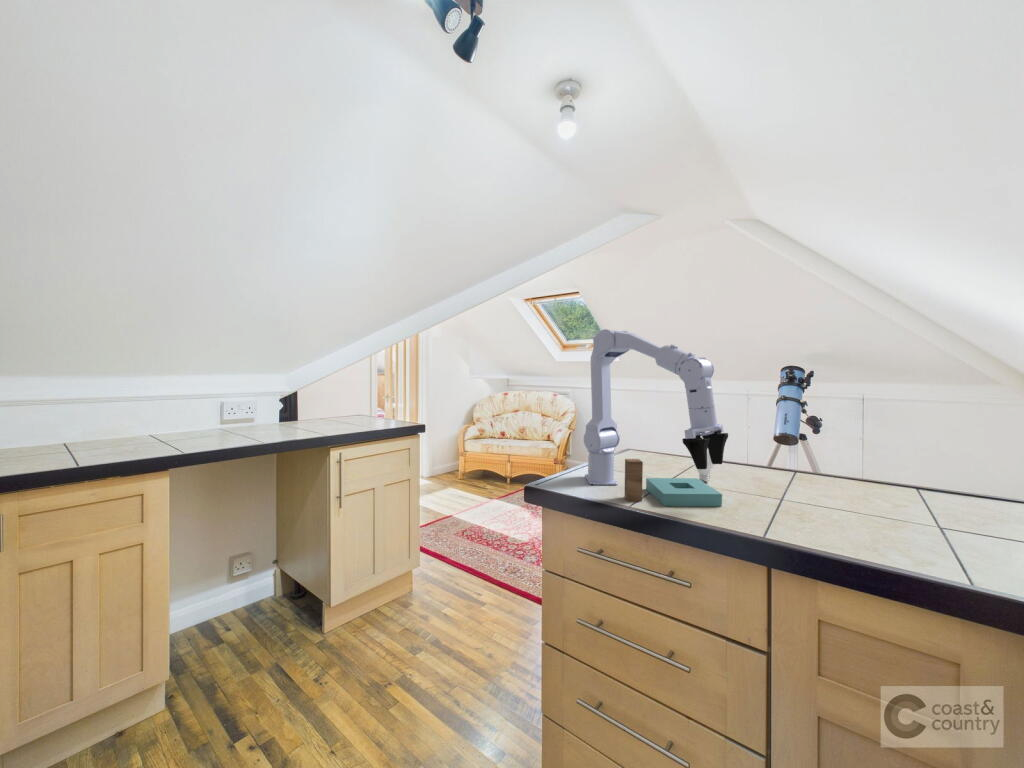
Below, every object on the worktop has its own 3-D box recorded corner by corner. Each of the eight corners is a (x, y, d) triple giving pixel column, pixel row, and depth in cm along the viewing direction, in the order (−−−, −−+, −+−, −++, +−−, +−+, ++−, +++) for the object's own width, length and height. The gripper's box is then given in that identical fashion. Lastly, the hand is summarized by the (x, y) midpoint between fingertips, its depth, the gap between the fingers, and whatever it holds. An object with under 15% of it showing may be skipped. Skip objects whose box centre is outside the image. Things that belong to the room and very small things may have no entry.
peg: (624, 497, 109) (625, 458, 108) (638, 497, 109) (638, 458, 108) (627, 501, 105) (628, 461, 105) (641, 501, 105) (642, 462, 105)
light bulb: (711, 479, 125) (712, 442, 125) (720, 485, 119) (721, 447, 118) (688, 478, 126) (689, 442, 125) (696, 485, 119) (697, 446, 119)
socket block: (646, 488, 116) (646, 478, 116) (697, 489, 115) (697, 478, 115) (663, 505, 102) (663, 493, 102) (721, 506, 101) (722, 494, 101)
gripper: (703, 409, 91) (711, 471, 90) (732, 405, 100) (741, 462, 99) (673, 411, 97) (681, 470, 96) (703, 407, 106) (711, 461, 105)
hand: (709, 466), depth 98 cm, fingers open, 7 cm apart
